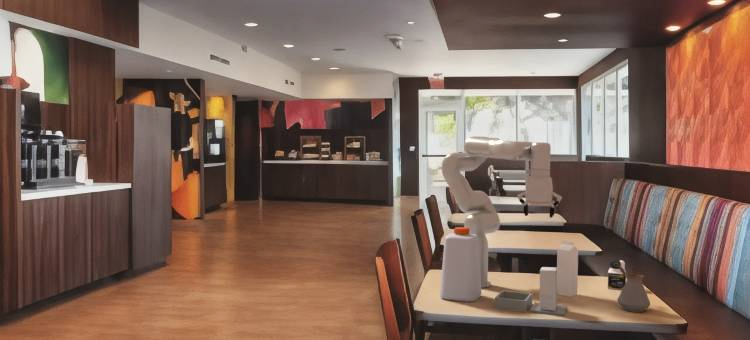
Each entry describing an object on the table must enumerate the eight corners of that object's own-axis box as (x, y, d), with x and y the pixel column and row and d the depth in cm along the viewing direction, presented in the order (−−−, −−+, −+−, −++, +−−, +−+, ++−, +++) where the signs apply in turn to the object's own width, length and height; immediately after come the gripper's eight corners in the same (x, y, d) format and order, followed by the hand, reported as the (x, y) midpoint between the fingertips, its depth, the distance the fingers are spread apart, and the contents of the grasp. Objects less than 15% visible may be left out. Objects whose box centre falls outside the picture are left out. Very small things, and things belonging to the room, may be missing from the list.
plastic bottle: (447, 291, 257) (448, 224, 256) (483, 294, 252) (484, 226, 251) (437, 299, 243) (438, 229, 242) (475, 303, 238) (476, 231, 237)
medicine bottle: (607, 288, 265) (608, 261, 265) (608, 285, 272) (608, 258, 271) (625, 290, 262) (626, 262, 262) (625, 286, 269) (626, 259, 269)
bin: (494, 308, 231) (494, 297, 231) (502, 300, 243) (502, 290, 243) (525, 311, 227) (526, 301, 226) (532, 303, 238) (532, 293, 238)
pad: (529, 312, 226) (529, 309, 226) (535, 304, 237) (535, 302, 237) (563, 316, 221) (563, 313, 221) (567, 308, 232) (567, 306, 232)
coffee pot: (656, 313, 227) (657, 273, 226) (625, 313, 226) (626, 273, 225) (629, 298, 248) (630, 261, 247) (601, 298, 247) (602, 261, 247)
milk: (568, 297, 249) (569, 243, 248) (555, 294, 254) (557, 241, 253) (577, 295, 253) (578, 241, 252) (565, 292, 258) (566, 239, 257)
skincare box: (555, 311, 225) (556, 271, 224) (538, 309, 227) (539, 269, 226) (557, 305, 232) (557, 266, 232) (540, 304, 234) (541, 265, 234)
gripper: (516, 173, 245) (514, 216, 245) (561, 174, 237) (559, 219, 238) (520, 172, 251) (518, 214, 252) (563, 174, 244) (562, 217, 245)
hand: (538, 216), depth 245 cm, fingers open, 9 cm apart
